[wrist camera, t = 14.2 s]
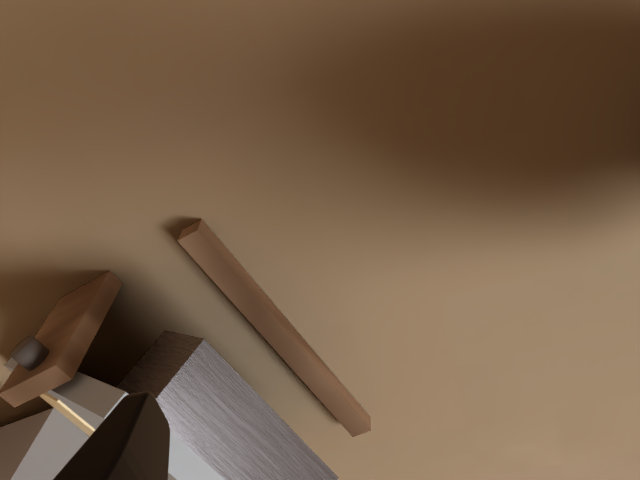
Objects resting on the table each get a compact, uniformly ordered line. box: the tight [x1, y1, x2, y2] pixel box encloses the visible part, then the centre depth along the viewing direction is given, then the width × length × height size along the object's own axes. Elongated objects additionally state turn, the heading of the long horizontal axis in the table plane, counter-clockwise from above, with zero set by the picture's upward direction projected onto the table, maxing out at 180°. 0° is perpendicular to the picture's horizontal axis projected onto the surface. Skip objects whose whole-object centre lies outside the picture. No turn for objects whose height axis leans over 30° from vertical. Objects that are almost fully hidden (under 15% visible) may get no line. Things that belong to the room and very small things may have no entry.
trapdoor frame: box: [0, 219, 371, 437], centre depth 26 cm, size 8×15×6 cm, turn 32°
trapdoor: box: [4, 331, 338, 480], centre depth 26 cm, size 12×11×4 cm
